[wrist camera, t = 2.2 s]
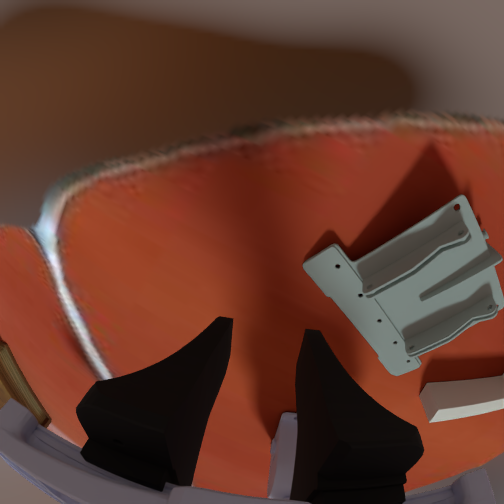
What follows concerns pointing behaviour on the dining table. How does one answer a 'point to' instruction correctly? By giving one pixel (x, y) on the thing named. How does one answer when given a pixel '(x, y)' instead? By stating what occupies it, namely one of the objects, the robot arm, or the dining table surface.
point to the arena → (462, 398)
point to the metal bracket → (415, 285)
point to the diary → (18, 387)
